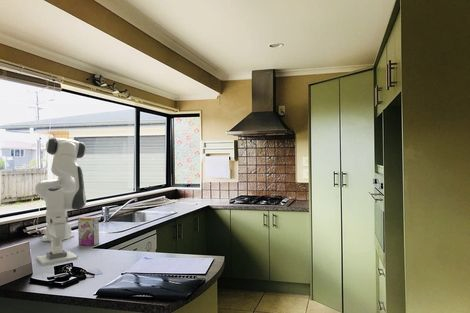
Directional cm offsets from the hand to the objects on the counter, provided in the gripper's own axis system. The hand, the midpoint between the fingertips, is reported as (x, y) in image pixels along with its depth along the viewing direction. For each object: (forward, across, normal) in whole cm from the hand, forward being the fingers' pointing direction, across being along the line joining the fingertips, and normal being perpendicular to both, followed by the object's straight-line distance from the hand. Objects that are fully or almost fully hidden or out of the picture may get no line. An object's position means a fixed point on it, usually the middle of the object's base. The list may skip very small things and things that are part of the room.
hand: (56, 244), depth 182 cm
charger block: (+4, 0, 0) cm, 4 cm away
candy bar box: (+7, -21, +22) cm, 31 cm away
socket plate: (+7, 0, 0) cm, 7 cm away
